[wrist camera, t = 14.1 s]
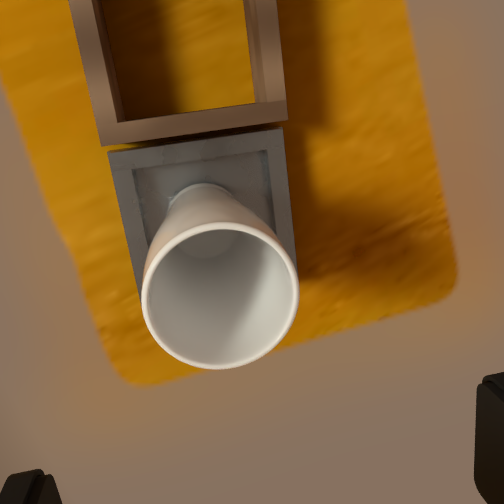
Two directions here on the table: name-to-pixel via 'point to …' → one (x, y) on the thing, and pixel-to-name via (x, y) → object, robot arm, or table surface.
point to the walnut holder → (121, 131)
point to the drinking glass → (217, 281)
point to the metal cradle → (202, 171)
